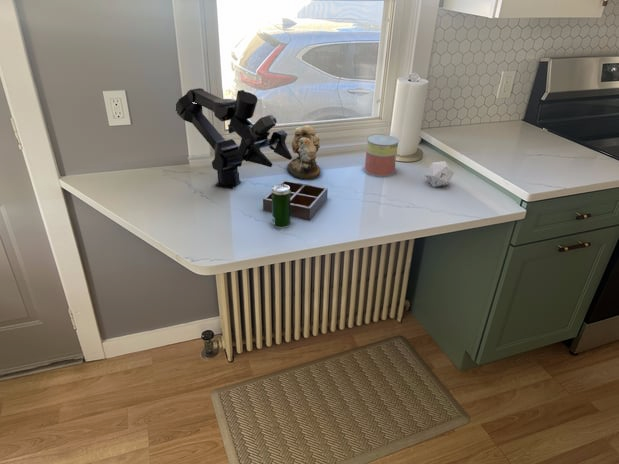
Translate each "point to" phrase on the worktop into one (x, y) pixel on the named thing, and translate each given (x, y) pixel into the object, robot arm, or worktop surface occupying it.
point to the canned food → (381, 155)
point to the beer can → (281, 206)
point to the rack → (301, 199)
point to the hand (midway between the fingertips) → (281, 162)
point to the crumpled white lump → (439, 174)
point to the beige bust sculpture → (305, 154)
